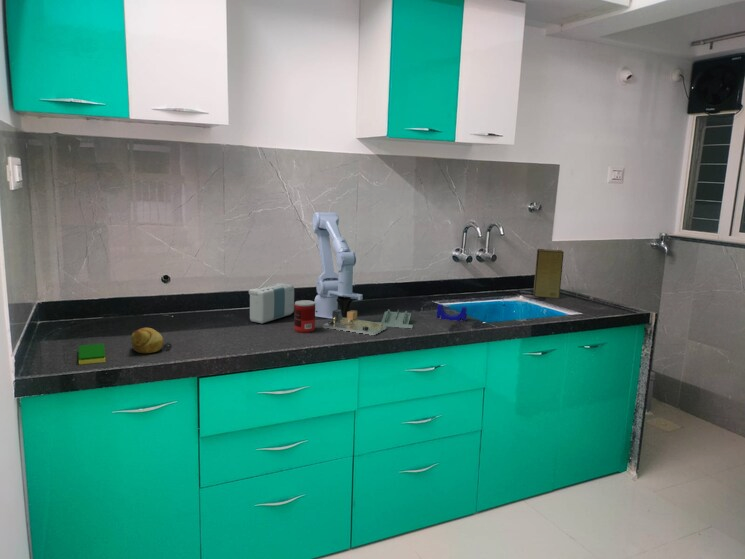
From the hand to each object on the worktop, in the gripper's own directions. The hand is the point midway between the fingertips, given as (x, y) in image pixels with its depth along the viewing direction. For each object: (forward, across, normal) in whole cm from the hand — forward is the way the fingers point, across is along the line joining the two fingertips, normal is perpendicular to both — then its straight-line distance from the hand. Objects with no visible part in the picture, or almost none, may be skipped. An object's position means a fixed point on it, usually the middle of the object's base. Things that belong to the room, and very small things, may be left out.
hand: (344, 315), depth 221 cm
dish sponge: (+5, -49, -76) cm, 91 cm away
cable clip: (+4, +35, +34) cm, 49 cm away
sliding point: (+2, +3, 0) cm, 4 cm away
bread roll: (+4, -40, -62) cm, 75 cm away
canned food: (+4, -9, -16) cm, 18 cm away
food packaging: (+4, +65, +114) cm, 131 cm away
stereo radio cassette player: (+4, -30, -6) cm, 31 cm away
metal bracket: (+5, +17, +13) cm, 22 cm away
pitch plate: (+4, +6, -2) cm, 8 cm away
